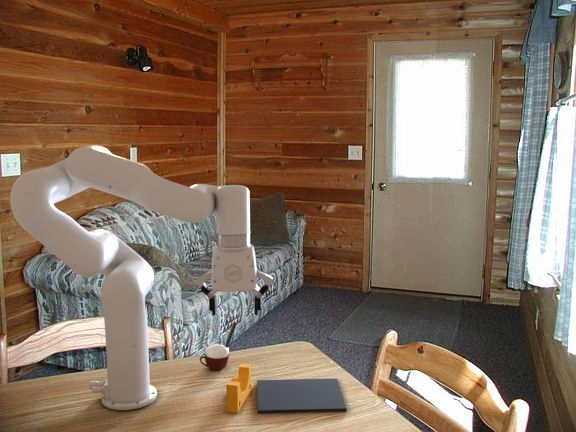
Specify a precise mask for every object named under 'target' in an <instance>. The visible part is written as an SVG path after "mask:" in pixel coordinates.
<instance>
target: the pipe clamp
mask: <svg viewBox="0 0 576 432" xmlns="http://www.w3.org/2000/svg"><path fill="white" fill-rule="evenodd" d="M252 380H253V379H252V364H250V363H240V364H239V366H238V375H233V377H232V378H231V380H229V381H228V382H227V383H226V386H225V387H226V391H225V394H226V395H225V396H226V413H234V414H239V412H240V410H241V409H242V407H243V405H244V403H245V402H246V400H247V398H248V397H249V395H250V393H251V392H252V386H253V385H252V384H253V383H252Z"/></svg>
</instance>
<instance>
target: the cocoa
mask: <svg viewBox="0 0 576 432" xmlns="http://www.w3.org/2000/svg"><path fill="white" fill-rule="evenodd" d="M237 324H238V322H237V321H236V320H234V321H233V322H232V327H231V328H230V332H229V333H228V336H227V339H226V341H225V343H224V345H223V344H220V343H219V344H218V343H214V344H212V345H209V346H207V347H205V348H204V355H201V356H200V357H199V362H200V363H201V364H202V365H203V366H204V367H207V368H209V369H210V370H213V371H220V370H223V369H224V368H226V367H227V365H228V362H229V358H230V357H229V356H230V349H229V345H230V343H231V340H232V337H233V335H234V332H235V329H236V327H237ZM202 359H204V362H205V363H204V362H203V361H202Z"/></svg>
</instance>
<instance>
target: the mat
mask: <svg viewBox="0 0 576 432" xmlns="http://www.w3.org/2000/svg"><path fill="white" fill-rule="evenodd" d="M256 394H257V395H256V399H257V401H256V402H257V403H256V404H257V414H262V415H263V414H264V415H265V414H298V413H299V414H301V413H302V414H303V413H339V412H340V413H343V412H345V413H346V412H347V411H348V409H347V405H346V403H345V398H344V396H343V393H342V390H341V386H340V383H339V379H338V378H337V377H336V378H297V379H296V378H295V379H257V380H256Z"/></svg>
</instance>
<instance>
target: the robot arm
mask: <svg viewBox="0 0 576 432" xmlns="http://www.w3.org/2000/svg"><path fill="white" fill-rule="evenodd" d="M88 189H94V190H97V191H99V192H103V193H106V194H110V195H113V196H116V197H119V198H122V199H125V200H128V201H131V202H133V203H135V204H136V205H138V206H142V207H143V208H145V209H147V210H150V211H152V212H153V213H157V214H158V215H162V216H164V217H168V218H171V219H174V220H178V221H181V222H184V223H189V224H197V223H202V222H203V221H205V220H206V219H208V218H209V217H210V216H215V220H216V222H215V223H216V224H215V225H216V233H215V234H213V235H211V234H210V235H209V237H210V239H209V240H210V242H213V243H215V244H216V245H214V246H213V248H212V255H211V270H210V271H209V270H208V271H207V272H205V273H204V274H202V275H199V276H198V277H197V278H196V279H195V280H196V281H195V282H196V283H197V285H198V286H199V288H200V291H201V292H202V293H203V294H204V295H205V296H206V297H207V298H208V307H209V309H208V310H209V311H210V312H211V316H217V312H218V307H217V306H218V304H217V303H218V301H217V295H216V294H217V293H219V292H221V293H229V292H231V293H233V292H235V293H237V292H238V293H239V292H252V294H253V295H254V297H253V298H254V299H253V302H254V303H253V305H254V306H253V309H254V310H253V311H254V315H255V316H259V311H262V297H263V296H264V295H265V294H266V293H267V292H268V290H269V288H270V287H271V285H272V283H273V281H274V278H273V277H272V275H269V274H267V273H265V272H263V271H261V270H259V269H257V267H258V266H257V258H256V257H257V256H256V251H255V248H254V244H251V210H250V209H251V205H250V204H251V202H250V190H249V188H248V187H247V186H245V185H241V184H227V185H226V184H225V185H215V184H207V183H196V184H193V185H190V186H188V185H183V184H180V183H177V182H174V181H171V180H169V179H166V178H165V177H161V176H159V174H158V175H157V174H156V173H154V172H153V171H152V169H151V168H150V167H149V166H147V165H146V164H143V163H141V162H138V161H135V160H132V159H128V158H125V157H121V156H119V155H116V154H113V153H112V152H111V151H110V150H109V149H108V148H106V147H104V146H102V145H98V144H97V145H96V144H93V145H85V146H81V147H77V148H76V149H74V150H73V151H71V152H70V154H68V156H67V158H65V159H62V160H60V161H58V162H55V163H54V164H51V165H48V166H45V167H40V168H35V169H31V170H29V171H26V172H24V173H22V174H21V175H20V176H18V178H17V179H15V181H14V183H13V184H12V186H11V190H10V197H9V201H10V209H11V212H12V214H13V216H14V218H15V221H17V223H18V224H19V226H20V227H21V228H22V229H23V230H24V231H25V232H27V233H28V234H29V235H30V236H31V237H33V238H34V239H35V240H36V241H37V242H39V243H41V244H42V245H43V246H44V247H45V248H46V249H47V250H48V251H49V252H50V253H51V254H53V255H54V256H55V257H56V258H58V260H59V261H61V262H63V263H64V264H65V265H66V266H67V267H69V268H70V270H72V271H73V272H74V273H76V275H78V276H80V277H83V278H94V277H97V276H98V275H100V274H101V275H103V276H104V277H105V278H104V279H103V281H102V284H101V286H100V302H101V303H100V304H101V307H102V313H103V322H104V337H105V358H106V377H107V379H103V380H101V381H99V380H90V381H89V386H88V387H89V388H88V389H89V390H91V393H92V394H101V393H102V394H101V397H100V398H101V399H100V400H101V404H102V405H103V406H104V407H105V408H108V409H110V410H115V411H130V410H137V409H140V408H141V409H142V408H145V407H146V406H148V405H151V404H152V403H154V401H156V398H158V397H157V396H158V392H157V388H156V387H155V386H153V385H151V381H150V379H151V377H150V356H149V355H150V352H149V351H150V350H149V326H148V316H147V309H146V297H147V295H148V293H149V292H150V291H151V289H152V288H153V286H154V283H155V272H154V270H153V268H152V266H151V265H150V264H149V262H147V260H145V259H144V257H142V256H141V255H140V254H139V253H137V252H136V251H135V250H134V249H132V247H131V246H129V245H128V244H127V243H125V242H124V241H123V240H122V239H120V237H118V236H117V235H116V234H114V233H112V232H111V231H108V230H105V229H98V228H97V229H92V230H90V231H88V230H87V229H86V228H84V227H83V226H82V225H80V224H79V223H78V222H77V221H76V220H75V219H74V218H72V217H71V216H69V215H68V214H67V213H65V212H63V211H62V210H60V209H58V208H57V207H56V206H55V205H54V204H57V203H59V202H62V201H64V200H66V199H69V198H70V197H72V196H74V195H77V194H79V193H80V192H81V193H82V192H83V191H85V190H88ZM209 279H211V288H210V287H209V286H208V285H206V281H207V280H209ZM258 279H260V280H262V281H264V284H263V285H262V286H261V287H259V286H258Z"/></svg>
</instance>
